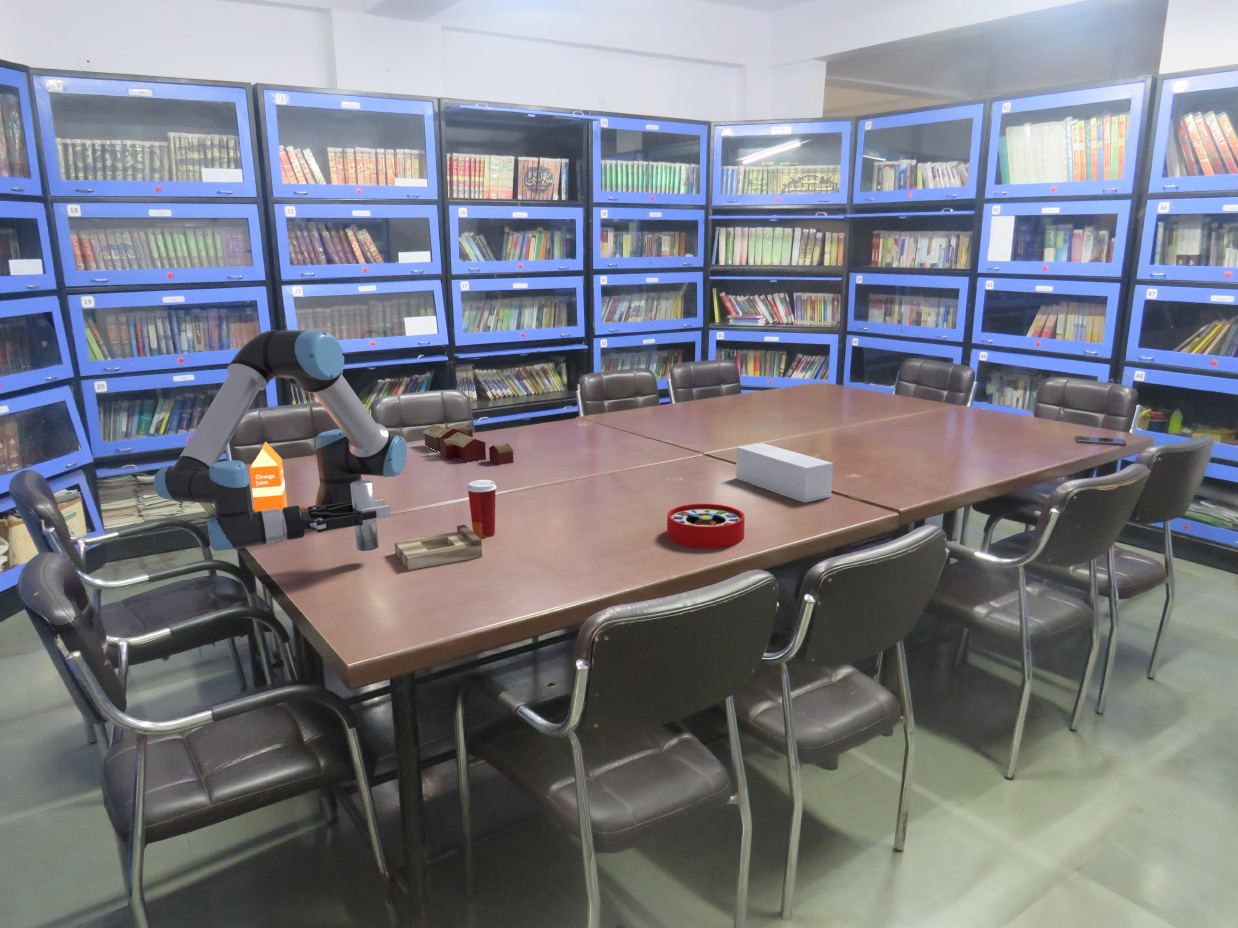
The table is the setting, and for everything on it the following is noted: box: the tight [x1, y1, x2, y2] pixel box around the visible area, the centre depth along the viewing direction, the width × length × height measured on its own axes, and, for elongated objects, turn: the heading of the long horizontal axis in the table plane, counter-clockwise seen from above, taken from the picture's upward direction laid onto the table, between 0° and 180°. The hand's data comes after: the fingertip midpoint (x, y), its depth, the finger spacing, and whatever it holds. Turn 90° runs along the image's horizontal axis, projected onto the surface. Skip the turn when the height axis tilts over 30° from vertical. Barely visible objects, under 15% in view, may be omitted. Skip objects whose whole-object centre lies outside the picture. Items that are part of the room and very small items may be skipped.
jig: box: [394, 524, 483, 571], centre depth 205 cm, size 13×18×4 cm
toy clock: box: [666, 503, 746, 549], centre depth 217 cm, size 20×6×20 cm
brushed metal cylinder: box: [350, 479, 379, 552], centre depth 198 cm, size 5×5×16 cm
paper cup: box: [466, 479, 497, 539], centre depth 218 cm, size 8×8×14 cm
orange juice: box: [249, 441, 288, 512], centre depth 239 cm, size 8×9×20 cm
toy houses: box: [422, 423, 516, 466], centre depth 307 cm, size 45×20×10 cm, turn 35°
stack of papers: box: [735, 442, 834, 503], centre depth 259 cm, size 32×11×11 cm, turn 31°
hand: (386, 507), depth 200 cm, fingers closed on brushed metal cylinder, 5 cm apart
